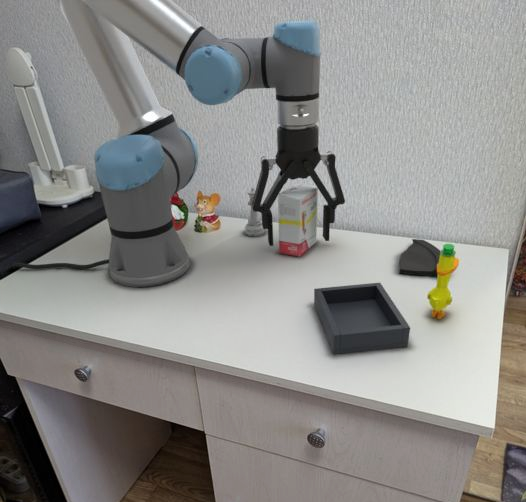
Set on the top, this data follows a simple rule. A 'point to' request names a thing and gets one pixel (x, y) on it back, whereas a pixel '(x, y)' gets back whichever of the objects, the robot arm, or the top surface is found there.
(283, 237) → the ink box
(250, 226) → the chess piece
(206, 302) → the top surface
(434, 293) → the toy figure
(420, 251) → the dark sector wedge
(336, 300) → the dark gray rectangular tray
